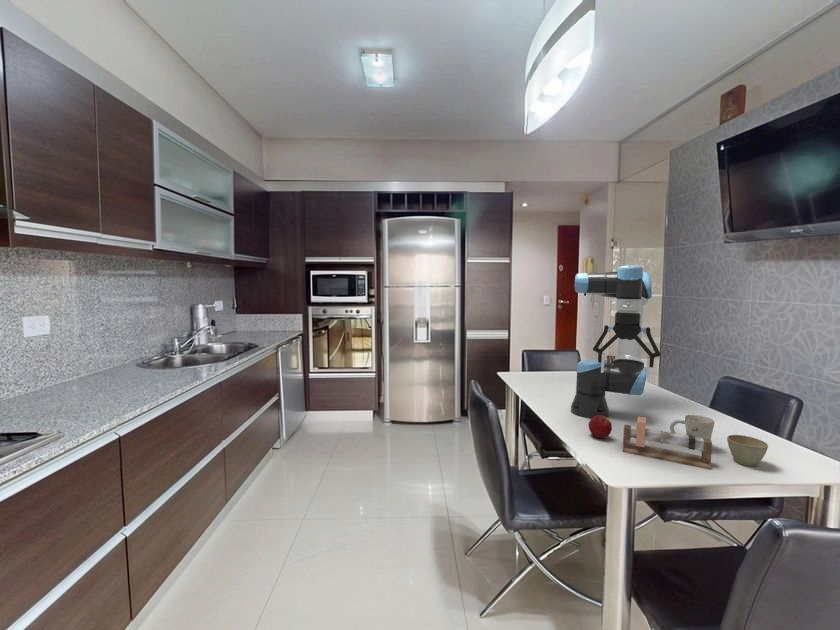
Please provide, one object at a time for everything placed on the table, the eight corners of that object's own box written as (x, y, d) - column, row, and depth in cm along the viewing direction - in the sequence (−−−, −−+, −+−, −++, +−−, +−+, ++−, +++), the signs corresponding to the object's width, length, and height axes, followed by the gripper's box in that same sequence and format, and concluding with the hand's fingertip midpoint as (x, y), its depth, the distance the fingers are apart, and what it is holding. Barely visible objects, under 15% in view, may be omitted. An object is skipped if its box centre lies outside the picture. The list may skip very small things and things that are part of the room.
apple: (588, 439, 143) (589, 417, 142) (588, 432, 150) (589, 411, 149) (612, 443, 140) (613, 420, 139) (610, 435, 147) (611, 413, 147)
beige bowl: (717, 456, 130) (719, 434, 130) (745, 455, 131) (747, 434, 130) (744, 470, 120) (746, 447, 120) (775, 469, 121) (777, 446, 120)
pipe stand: (622, 451, 132) (623, 429, 132) (623, 443, 139) (625, 422, 139) (711, 469, 120) (713, 444, 120) (708, 459, 127) (709, 436, 127)
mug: (713, 453, 132) (715, 424, 131) (668, 445, 138) (670, 417, 138) (711, 445, 139) (713, 417, 138) (668, 437, 145) (670, 411, 145)
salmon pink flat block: (635, 445, 131) (637, 421, 130) (636, 439, 136) (637, 416, 136) (644, 447, 130) (645, 423, 129) (644, 440, 135) (646, 417, 135)
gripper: (586, 310, 136) (583, 371, 138) (672, 314, 125) (668, 381, 126) (588, 309, 143) (585, 368, 144) (670, 313, 131) (666, 376, 133)
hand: (624, 374), depth 135 cm, fingers open, 13 cm apart
